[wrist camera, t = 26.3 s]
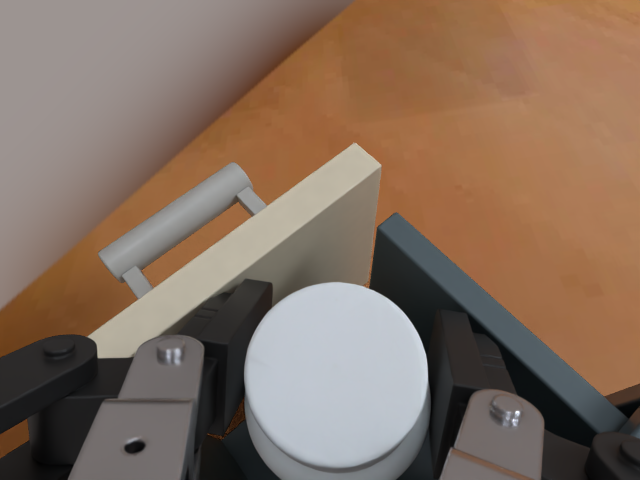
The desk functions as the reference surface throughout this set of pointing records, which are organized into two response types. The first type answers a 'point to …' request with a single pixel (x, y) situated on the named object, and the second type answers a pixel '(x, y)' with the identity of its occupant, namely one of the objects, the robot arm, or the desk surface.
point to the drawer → (324, 267)
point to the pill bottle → (337, 386)
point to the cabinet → (628, 408)
